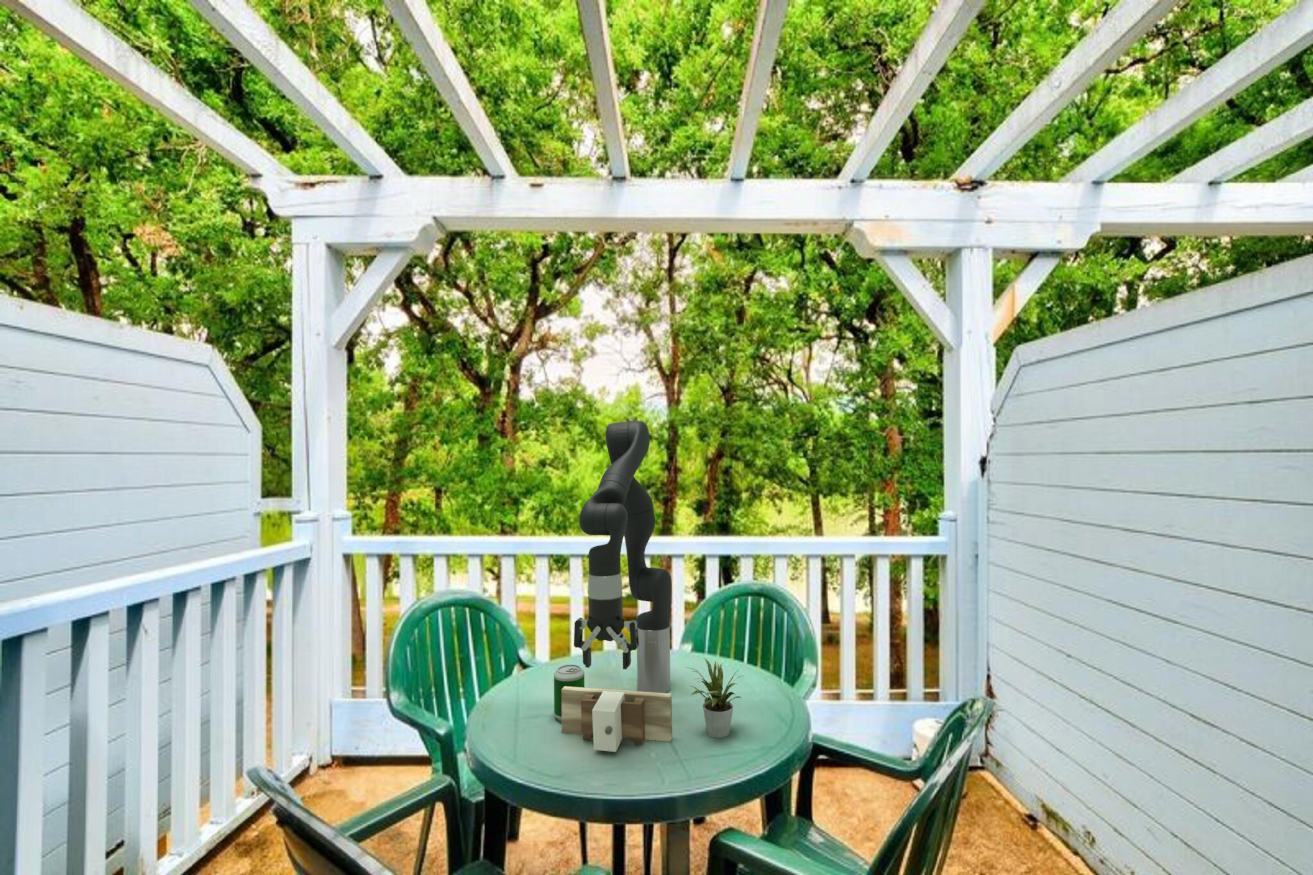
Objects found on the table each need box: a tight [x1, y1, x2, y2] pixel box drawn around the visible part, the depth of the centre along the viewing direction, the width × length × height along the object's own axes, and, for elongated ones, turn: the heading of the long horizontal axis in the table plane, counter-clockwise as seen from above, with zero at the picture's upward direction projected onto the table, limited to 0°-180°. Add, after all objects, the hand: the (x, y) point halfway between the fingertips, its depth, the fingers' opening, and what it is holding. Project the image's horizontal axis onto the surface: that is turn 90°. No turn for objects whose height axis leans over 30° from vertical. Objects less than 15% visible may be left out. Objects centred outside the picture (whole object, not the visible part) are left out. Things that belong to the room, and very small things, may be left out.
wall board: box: [561, 686, 673, 746], centre depth 137 cm, size 5×26×10 cm, turn 78°
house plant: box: [684, 657, 743, 739], centre depth 140 cm, size 14×14×16 cm
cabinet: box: [592, 691, 625, 753], centre depth 133 cm, size 9×5×9 cm, turn 168°
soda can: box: [553, 664, 586, 723], centre depth 148 cm, size 8×8×12 cm
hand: (606, 667), depth 131 cm, fingers open, 8 cm apart
